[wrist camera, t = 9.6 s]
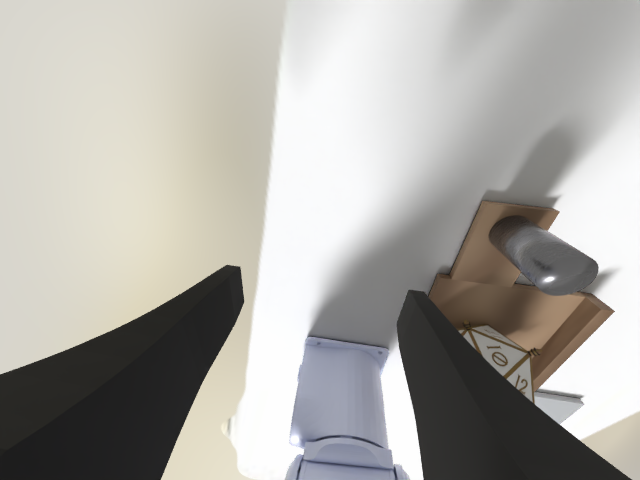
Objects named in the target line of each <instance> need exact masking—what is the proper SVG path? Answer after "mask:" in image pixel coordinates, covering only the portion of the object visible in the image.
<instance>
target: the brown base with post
mask: <svg viewBox="0 0 640 480" xmlns="http://www.w3.org/2000/svg"><path fill="white" fill-rule="evenodd" d="M558 214H559V211H557V210H555V209H552V208H543V207H534V206H525V205H516V204H507V203H498V202H489V201H482V203H481V205H480V208H479V210H478V212H477V214H476V217H475V219H474V221H473V223H472V226H471V228H470V230H469V232H468V234H467V237H466V239H465V241H464V243H463V246H462V248H461V250H460V252H459V255H458V257H457V259H456V261H455V263H454V266H453V268H452V270H451V272H450V275H444V274H437V277H436V279H435V282H434V284H433V286H432V289H431V291H430V294H429V296H428V297H429V298H430V299H431V301H432V302H433V303H434V304H435V305H436V306H437V307H438V309H439V310H440V311H441V312H442V313H443V314H444V316H445V317H446V318H447V319H448V320H449V321H450V322H451V323H452V325H453V326H454V327H455V328H456V329H459V328H464V326H463V325H464V324H463V322H464V321H465V319H466V320H467V321H469V322H470V325H471V326H476V325H482V324H488V325H489V326H491V327H492V328H494V329H495V330H497V331H498V332H500V333H501V334H503V335H504V336H506V337H507V338H509V339H510V340H512V341H513V342H515V343H516V344H518V345H519V346H521V347H522V348H524V349H525V350H527V351H530V350H531V349H534V348H536V349H541V350H543V351H542V352H541V353H540V355H537V356H531V358H532V372H533V385H534V392H535V391H536V390H537V389H538V388H539V387H540V386H541V385H542V384H543V383H544V382H545V381H546V380H547V379H548V378H549V377H550V376H551V375H552V374H553V373H554V372H555V371H556V370H557V369H558V368H559V367H560V366H561V365H562V364H563V363H564V362H565V361H566V360H567V359H568V358H569V357H570V356H571V355H572V354H573V353H574V352H575V351H576V350H577V349H578V348H579V347H580V346H581V345H582V344H583V343H584V342H585V341H586V340H587V339H588V338H589V337H590V336H591V335H592V334H593V333H594V332H595V331H596V330H597V329H598V328H599V327H600V326H601V325H602V324H603V323H604V322H605V321H606V320H607V319H608V318H609V317H610V316H611V315H612V314H613V313H614V312H615V311H614V310H612V309H611V308H610V307H609V306H607V305H606V304H605V303H603V302H602V301H601V300H599V299H598V298H597V297H595V296H594V295H593V294H589V293H582V292H577V291H580V290H582V289H583V288H585V287H586V286H588V285H589V284H590V283H591V282H592V281H593V280H594V279H595V278H596V276H597V274H598V264H597V263H596V261H595V260H593V259H592V258H590V257H589V256H587V255H585V254H584V253H582V252H580V251H579V250H577V249H576V248H574V247H572V246H571V245H569V244H568V243H566V242H564V241H563V240H561V239H559V238H558V237H556V236H555V235H553V234H551V233H550V232H548V229H549V228H550V226H551V225H552V223H553V222H554V220H555V218H556V217H557V215H558ZM521 272H522V273H523V274H524V275H525V276H526V277H527V278H528V279H529V280H530V281H531V282H532V283H533V284H534V285H535V286H528V285H521V284H514V283H515V281H516V280H517V278H518V276H519V275H520V273H521Z"/></svg>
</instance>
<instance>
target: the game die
mask: <svg viewBox="0 0 640 480" xmlns="http://www.w3.org/2000/svg"><path fill="white" fill-rule="evenodd" d="M463 324H464V325H463V326H464V328H459V329H457V330H458V331H459V332H460V333H461V335H462V336H463V337H464V338H465V339H466V340H467V341H468V342H469V343H470V344H471V345H472V346H473V347H474V348H475V349H476V350H477V351H478V352H479V353H480V354H481V355H482V356H483V357H484V358H485V359H486V360H487V361H488V362H489V363H490V364H491V365H492V366H493V367H494V368H495V369H496V370H497V371H498V372H499V373H500V374H501V375H502V376H503V377H505V378H506V379H507V380H508V381H509V382H510V383H511V384H512V385H513V386H514V387H516V388H517V389H518V390H519V391H520V392H521V393H522V394H523V395H525V396H526V397H527V398H528V399H529V400H530V401H532V402H533V403H534V404H535V399H534V385H533V372H532V358H531V356H537V355H540V353H541V352H542V351H543V350H541V349H536V348H534V349H531V350H530V351H527V350H525V349H524V348H522V347H521V346H519V345H518V344H516V343H515V342H513V341H512V340H510V339H509V338H507V337H506V336H504V335H503V334H501V333H500V332H498V331H497V330H495V329H494V328H492V327H491V326H489V325H488V324H482V325H476V326H471V325H470V322H469V321H467V320H466V319H465V321H464V322H463Z"/></svg>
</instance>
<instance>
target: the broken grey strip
mask: <svg viewBox="0 0 640 480" xmlns="http://www.w3.org/2000/svg"><path fill="white" fill-rule="evenodd" d="M534 399H535V405H536V406H537V407H539V408H540V409H541V410H542V411H544V412H545V413H546V414H547V415H548V416H550V417H551V418H552V419H553V420H555V421H556V422H557V423H558V424H561V423H562V422H563V421H564V420H566V419H567V418H568V417H569V416H571V415H572V414H573V413H574V412H576V411H577V410H578V409H579V408H581V407H582V406H583V405H584V403H583V402H582V401H581V399H579V398H572V397H566V396H559V395H553V394H547V393H540V392H534Z"/></svg>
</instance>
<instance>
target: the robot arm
mask: <svg viewBox="0 0 640 480" xmlns="http://www.w3.org/2000/svg"><path fill="white" fill-rule="evenodd" d="M243 304H244V295H243V286H242V279H241V269H240V267H238V266H230V265H226V266H225V267H223V268H221V269H219V270H218V271H216V272H215V273H213V274H211V275H210V276H208V277H207V278H205V279H204V280H202V281H201V282H199V283H197V284H196V285H194V286H193V287H191V288H189V289H188V290H186V291H185V292H183V293H182V294H180V295H178V296H176V297H175V298H173V299H171V300H169V301H168V302H166V303H164V304H162V305H161V306H159V307H157V308H156V309H154V310H152V311H150V312H148V313H146V314H144V315H142V316H141V317H139V318H137V319H135V320H133V321H131V322H129V323H127V324H125V325H122V326H121V327H118V328H116V329H114V330H112V331H110V332H107V333H105V334H103V335H101V336H98V337H96V338H94V339H91V340H89V341H87V342H85V343H82V344H80V345H78V346H75V347H73V348H70V349H68V350H65V351H63V352H60V353H58V354H55V355H52V356H50V357H48V358H45V359H42V360H39V361H37V362H34V363H31V364H29V365H26V366H23V367H20V368H18V369H15V370H12V371H9V372H6V373H3V374H0V480H161V477H162V475H163V473H164V470H165V468H166V465H167V463H168V460H169V458H170V456H171V453H172V451H173V448H174V446H175V443H176V441H177V438H178V436H179V434H180V431H181V429H182V427H183V425H184V422H185V420H186V417H187V415H188V413H189V411H190V408H191V406H192V404H193V402H194V400H195V397H196V395H197V393H198V391H199V389H200V386H201V384H202V382H203V380H204V379H205V377H206V375H207V373H208V371H209V369H210V367H211V366H212V364H213V362H214V360H215V359H216V356H217V355H218V353H219V351H220V350H221V348H222V346H223V345H224V343H225V341H226V339H227V337H228V335H229V334H230V332H231V330H232V328H233V327H234V325H235V323H236V320H237V318H238V316H239V314H240V311H241V309H242V306H243ZM397 332H398V342H399V349H400V353H401V358H402V362H403V367H404V371H405V375H406V379H407V383H408V388H409V392H410V396H411V400H412V405H413V409H414V414H415V419H416V426H417V433H418V440H419V447H420V454H421V462H422V469H423V477H424V480H632V479H630V478H628V477H627V476H626V475H625V474H623V473H622V472H621V471H619V470H618V469H616V468H615V467H614V466H613V465H611V464H610V463H608V462H607V461H606V460H605V459H603V458H602V457H601V456H599V455H598V454H597V453H595V452H594V451H593V450H591V449H590V448H589V447H587V446H586V445H585V444H583V443H582V442H581V441H580V440H578V439H577V438H576V437H574V436H573V435H572V434H571V433H569V432H568V431H567V430H566V429H564V428H563V427H562V426H561V425H559V424H558V423H557V422H556V421H555V420H553V419H552V418H551V417H550V416H548V415H547V414H546V413H545V412H544V411H542V410H541V409H540V408H539V407H537V406H536V405H535V404H534V403H533V402H532V401H530V400H529V399H528V398H527V397H526V396H525V395H523V394H522V393H521V392H520V391H519V390H518V389H517V388H516V387H514V386H513V385H512V384H511V383H510V382H509V381H508V380H507V379H506V378H505V377H503V376H502V375H501V374H500V373H499V372H498V371H497V370H496V369H495V368H494V367H493V366H492V365H491V364H490V363H489V362H488V361H487V360H486V359H485V358H484V357H483V356H482V355H481V354H480V353H479V352H478V351H477V350H476V349H475V348H474V347H473V346H472V345H471V344H470V343H469V342H468V341H467V340H466V339H465V338H464V337H463V336H462V335H461V333H460V332H459V331H458V330H457V329H456V328H455V327H454V326H453V325H452V323H451V322H450V321H449V320H448V319H447V318H446V317H445V316H444V314H443V313H442V312H441V311H440V310H439V309H438V307H437V306H436V305H435V304H434V303H433V302H432V301H431V299H430V298H429V297H428V296H427V295H426V294H425V293H424V292H422V291H414V290H408V293H407V296H406V299H405V302H404V304H403V307H402V310H401V313H400V316H399V319H398V321H397ZM388 355H389V351H388V349H386V348H382V347H375V346H368V345H362V344H355V343H349V342H342V341H336V340H329V339H322V338H316V337H307V339H306V346H305V351H304V356H303V362H302V365H300V368H299V373H298V388H297V393H296V398H295V404H294V410H293V416H292V423H291V431H290V444H291V445H293V446H297V447H300V448H302V449H304V455H301V454H299V455H297V456H296V458H295V460H294V461H293V462H292V463H291V465H290V466H289V469H288V471H287V474H286V478H285V480H410V478H409V476H408V475H407V473H406V472H405V471H404V470H403V468H402V466H401V465H400V464H394V467H393V459H392V451H391V450H390V449H388V440H387V431H386V422H385V413H384V404H383V395H382V386H381V374H382V371H383V368H384V366H385V363H386V360H387V357H388Z"/></svg>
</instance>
